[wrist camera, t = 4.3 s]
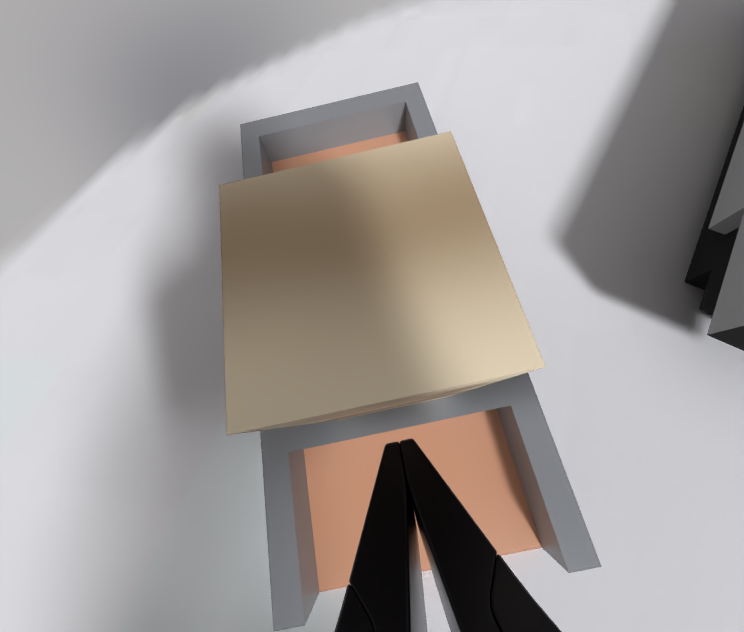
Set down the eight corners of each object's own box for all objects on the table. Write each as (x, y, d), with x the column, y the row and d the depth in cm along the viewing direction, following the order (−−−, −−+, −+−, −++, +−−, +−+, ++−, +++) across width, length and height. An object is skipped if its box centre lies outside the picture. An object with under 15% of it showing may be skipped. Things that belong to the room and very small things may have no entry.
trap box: (564, 538, 13) (601, 566, 10) (296, 592, 13) (273, 631, 11) (415, 118, 22) (417, 82, 19) (257, 155, 22) (240, 124, 20)
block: (448, 396, 13) (546, 366, 4) (340, 419, 13) (226, 435, 4) (420, 295, 14) (451, 131, 6) (324, 317, 15) (219, 185, 6)
